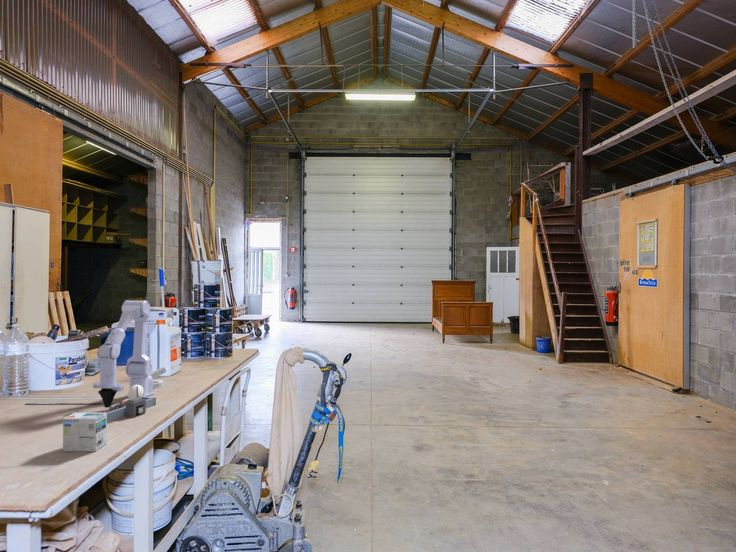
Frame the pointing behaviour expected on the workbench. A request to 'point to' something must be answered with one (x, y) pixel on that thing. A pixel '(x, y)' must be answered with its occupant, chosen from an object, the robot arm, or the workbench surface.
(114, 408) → the walkie-talkie
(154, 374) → the wall hook
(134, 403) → the centring jig
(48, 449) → the workbench surface
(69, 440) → the light bulb box
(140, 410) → the gauge plunger
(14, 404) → the workbench surface
